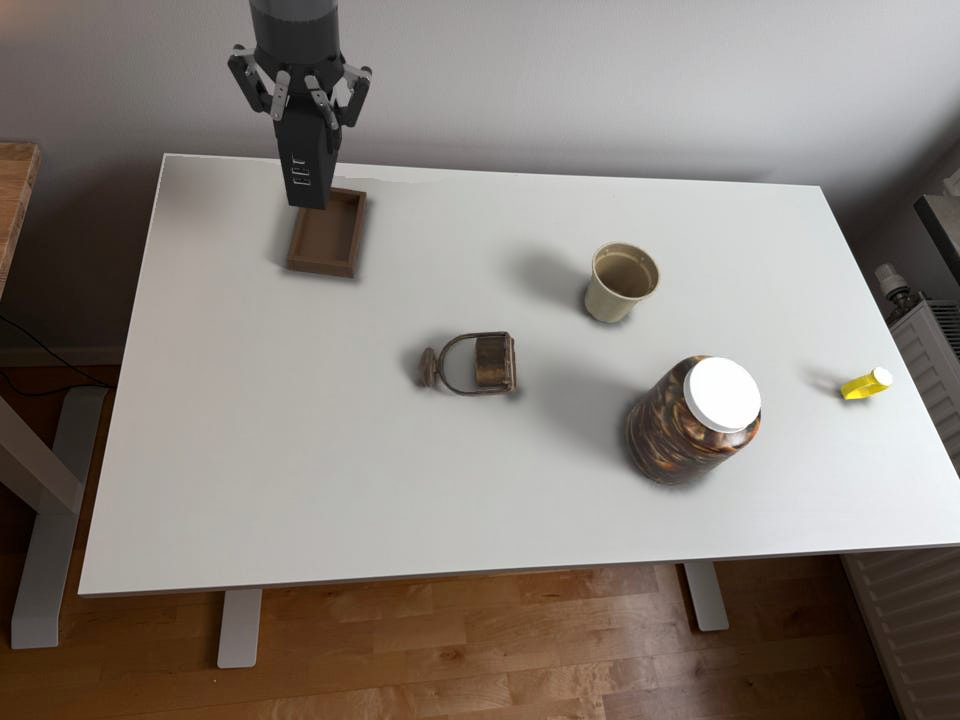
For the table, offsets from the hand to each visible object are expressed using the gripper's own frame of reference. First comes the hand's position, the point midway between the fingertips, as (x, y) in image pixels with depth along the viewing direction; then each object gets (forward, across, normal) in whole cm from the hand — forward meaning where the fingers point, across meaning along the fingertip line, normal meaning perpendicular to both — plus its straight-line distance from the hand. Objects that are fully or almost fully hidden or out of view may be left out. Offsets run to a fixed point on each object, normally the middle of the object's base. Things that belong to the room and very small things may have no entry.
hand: (310, 144), depth 67 cm
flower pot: (+19, +40, -3) cm, 45 cm away
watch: (+19, +76, -12) cm, 80 cm away
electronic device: (+5, 0, 0) cm, 5 cm away
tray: (+19, 0, +3) cm, 19 cm away
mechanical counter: (+19, +22, -16) cm, 33 cm away
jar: (+19, +48, -23) cm, 56 cm away
